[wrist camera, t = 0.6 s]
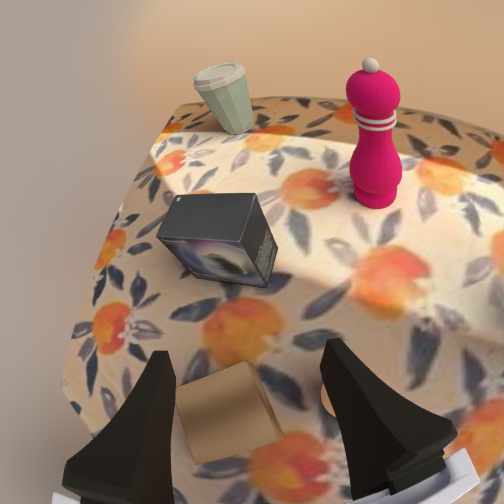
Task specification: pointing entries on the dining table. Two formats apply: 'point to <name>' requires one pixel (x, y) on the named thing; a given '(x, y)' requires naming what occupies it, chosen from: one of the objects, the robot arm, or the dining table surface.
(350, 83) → the pepper mill
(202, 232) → the small box
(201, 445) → the tan square base block
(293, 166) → the dining table surface
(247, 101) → the disposable coffee cup
